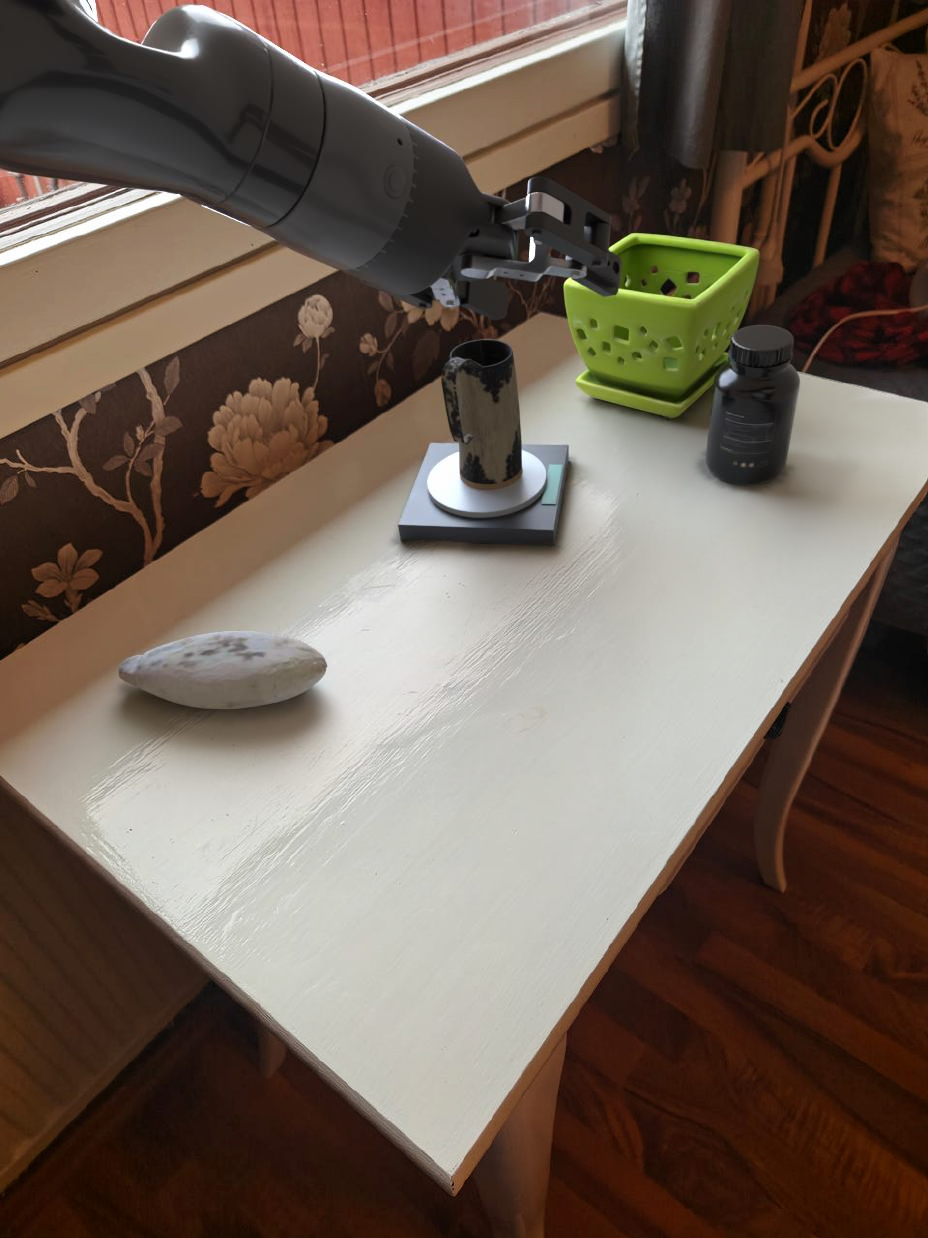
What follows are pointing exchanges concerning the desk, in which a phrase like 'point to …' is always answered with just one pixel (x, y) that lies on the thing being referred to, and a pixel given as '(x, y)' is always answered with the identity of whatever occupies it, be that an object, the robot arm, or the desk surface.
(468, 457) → the mug
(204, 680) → the decorative stone
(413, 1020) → the desk surface
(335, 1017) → the desk surface
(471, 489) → the scale
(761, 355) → the supplement bottle
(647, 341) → the flower pot
